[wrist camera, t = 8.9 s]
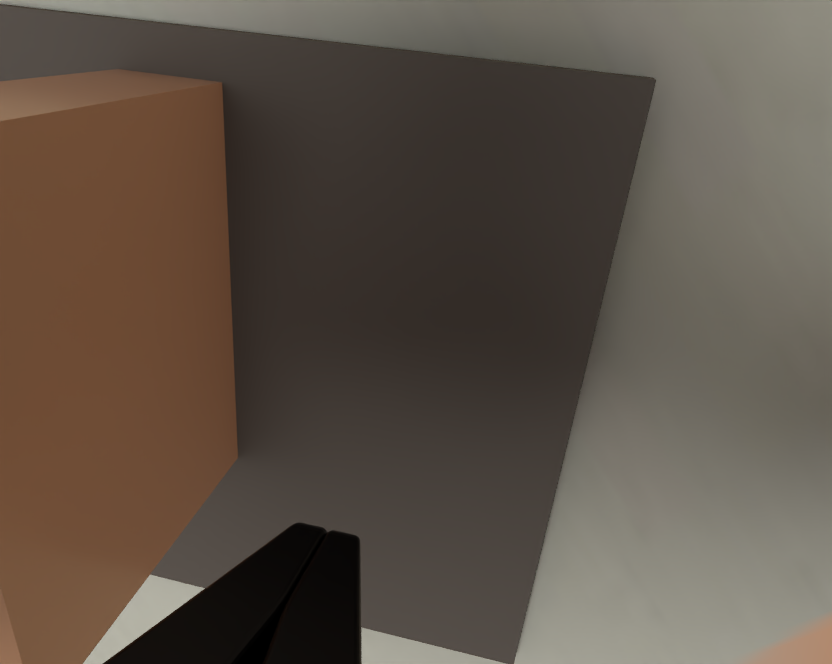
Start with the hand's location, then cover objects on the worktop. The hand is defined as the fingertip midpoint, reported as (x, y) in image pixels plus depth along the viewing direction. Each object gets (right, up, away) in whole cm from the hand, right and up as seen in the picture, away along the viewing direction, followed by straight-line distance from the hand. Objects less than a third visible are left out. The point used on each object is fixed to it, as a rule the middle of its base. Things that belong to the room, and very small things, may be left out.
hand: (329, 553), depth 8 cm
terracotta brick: (-4, +4, +6) cm, 9 cm away
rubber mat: (-4, +2, +8) cm, 9 cm away
